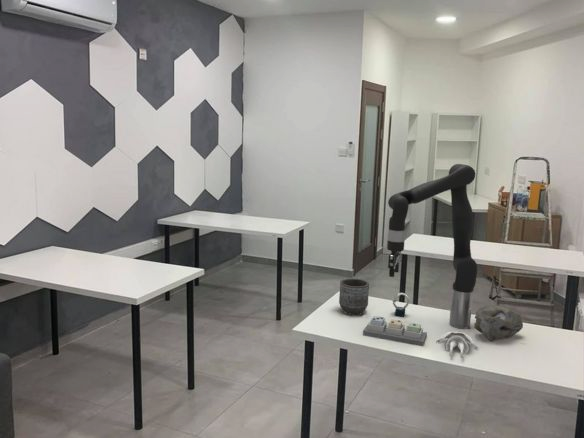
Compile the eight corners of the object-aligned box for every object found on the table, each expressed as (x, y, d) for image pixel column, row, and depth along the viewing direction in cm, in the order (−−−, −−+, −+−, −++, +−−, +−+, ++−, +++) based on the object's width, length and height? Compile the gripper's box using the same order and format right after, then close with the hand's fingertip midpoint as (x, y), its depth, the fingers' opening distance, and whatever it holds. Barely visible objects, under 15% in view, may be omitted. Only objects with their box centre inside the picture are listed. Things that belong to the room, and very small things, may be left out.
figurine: (478, 364, 203) (477, 341, 226) (480, 343, 201) (479, 322, 225) (433, 356, 208) (437, 334, 231) (435, 336, 207) (439, 316, 230)
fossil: (466, 335, 230) (469, 303, 227) (496, 326, 242) (500, 296, 239) (494, 347, 218) (497, 314, 215) (524, 337, 230) (528, 305, 227)
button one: (420, 331, 225) (421, 323, 224) (418, 335, 220) (419, 327, 219) (408, 329, 227) (409, 321, 226) (406, 333, 222) (407, 325, 221)
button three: (384, 325, 231) (384, 317, 230) (381, 329, 226) (382, 321, 225) (373, 323, 233) (373, 315, 232) (370, 327, 228) (370, 319, 227)
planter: (336, 314, 250) (338, 285, 247) (340, 305, 264) (342, 276, 261) (365, 318, 247) (367, 288, 244) (368, 308, 260) (370, 279, 258)
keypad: (426, 336, 227) (427, 327, 226) (422, 346, 217) (423, 336, 216) (369, 326, 237) (369, 317, 236) (362, 335, 227) (363, 325, 226)
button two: (402, 328, 228) (402, 320, 227) (399, 332, 223) (400, 324, 222) (390, 326, 230) (391, 318, 229) (388, 330, 225) (389, 322, 224)
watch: (392, 311, 256) (393, 290, 254) (408, 314, 254) (410, 292, 252) (390, 315, 251) (392, 294, 249) (407, 318, 249) (409, 296, 247)
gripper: (400, 243, 223) (398, 279, 226) (407, 237, 236) (405, 271, 239) (383, 241, 226) (381, 277, 229) (391, 235, 239) (389, 269, 242)
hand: (393, 274), depth 234 cm, fingers open, 8 cm apart
